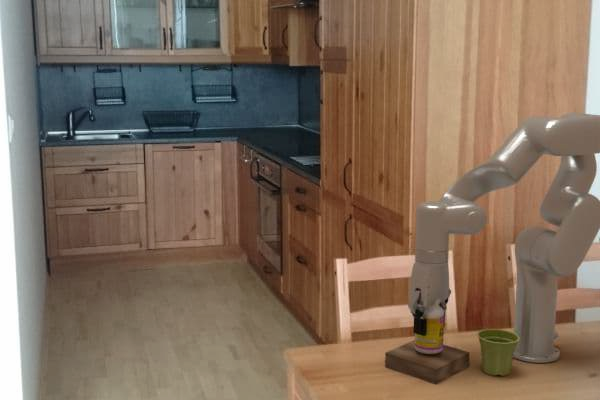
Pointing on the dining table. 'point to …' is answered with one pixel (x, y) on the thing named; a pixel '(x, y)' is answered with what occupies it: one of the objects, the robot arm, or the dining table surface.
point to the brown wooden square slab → (427, 362)
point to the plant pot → (497, 350)
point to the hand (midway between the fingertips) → (429, 329)
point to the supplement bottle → (432, 331)
